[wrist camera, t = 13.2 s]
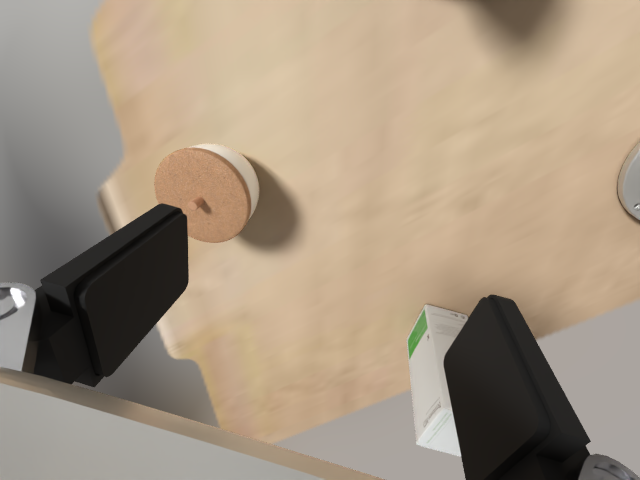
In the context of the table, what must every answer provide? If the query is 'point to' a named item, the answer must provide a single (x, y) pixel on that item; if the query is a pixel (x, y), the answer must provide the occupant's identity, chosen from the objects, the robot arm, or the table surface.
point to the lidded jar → (209, 190)
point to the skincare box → (433, 377)
